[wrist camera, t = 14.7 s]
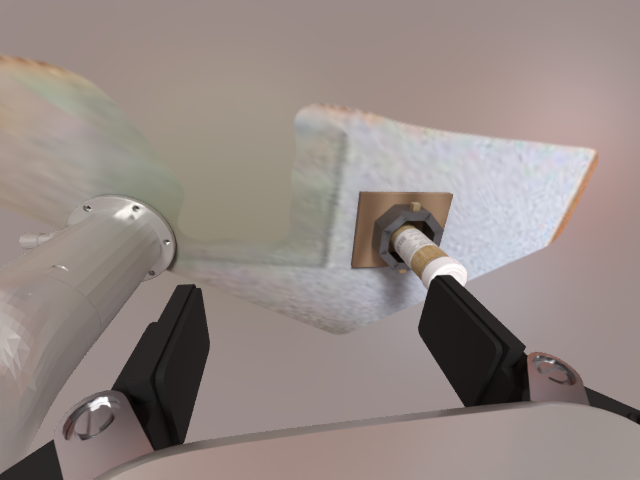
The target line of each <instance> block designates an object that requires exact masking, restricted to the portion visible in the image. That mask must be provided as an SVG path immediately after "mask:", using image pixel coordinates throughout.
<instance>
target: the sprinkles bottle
mask: <svg viewBox="0 0 640 480" xmlns="http://www.w3.org/2000/svg"><path fill="white" fill-rule="evenodd" d="M389 244H390V245H391V246H393V248H394V249H395V250H396V252H397V253H398V254H399V255H400V257H401V258H402V259H403V260H404V261H405V263H406V264H407V265H408V266H409V267H410V268H411V269H412V270H413V271H414V272H415V274H416V275H417V276H418V277H419V278H420V279H421V280H422V283H423V285H424V286H425V288H426V289H427V290H428V289H429V285H430V282H431V280H432V279H434V277H435V276H436V275H451V276H453V277H454V278H455V279H456V280H457V281H458V282H459V283H460V284H461V285H462V286H463V287H464V285H465V283H466V281H467V272H466V270H465V268H464V267H463V266H462V265H461V264H460V263H459V262H458V261H456V260H455V259H454V258H451V257H449V256H448V255H447V254H446V253H444V252H443V251H442V250H441V249H440V248H439V247H438V246H437V245H436V244H435V243H433V242H432V241H431V240H430V239H429V238H427V237H426V236H425V235H424V234H423V233H422V232H421V231H419V230H417V229H416V228H415V227H414V226H413V224H412V223H410V222H409V221H406V222H405V223H403V224H402V225H401V226H400V227H399V228H397V229H396V230H395V231H394V232H392V233H391V235H390V241H389Z"/></svg>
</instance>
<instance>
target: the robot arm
mask: <svg viewBox="0 0 640 480" xmlns="http://www.w3.org/2000/svg"><path fill="white" fill-rule="evenodd" d="M137 206H138V207H139V208H138V207H137ZM168 240H169V241H168ZM19 243H20V246H21V247H22V248H23V249H32V250H30V251H28V252H26V253H25V254H23V255H21V256H20V257H18V258H16V259H15V260H13V261H11V262H10V263H8V264H6V265H4V266H3V267H1V268H0V480H640V411H639V410H637V409H635V408H632V407H630V406H628V405H625V404H623V403H621V402H618V401H616V400H614V399H612V398H609V397H607V396H605V395H603V394H600V393H598V392H596V391H594V390H591V389H589V388H587V387H585V386H584V385H583V381H582V379H581V377H580V376H579V374H578V373H577V372H576V371H575V370H574V369H573V368H572V367H571V366H570V365H568V364H567V363H565V362H564V361H562V360H561V359H559V358H557V357H554V356H552V355H549V354H546V353H542V352H533V353H530V354H529V355H528V356H527V355H526V354H525V353H524V350H525V348H526V346H525V345H524V344H523V343H522V342H521V341H520V340H519V339H518V338H517V337H515V336H514V335H513V334H512V333H511V332H510V331H509V330H508V329H507V328H506V327H505V326H504V325H503V324H502V323H501V322H500V321H499V320H498V319H497V318H496V317H495V316H493V315H492V314H491V313H490V312H489V311H488V310H487V309H486V308H485V307H484V306H483V305H482V304H481V303H480V302H479V301H478V300H477V299H476V298H475V297H474V296H473V295H472V294H470V292H468V291H467V290H466V289H465V288H464V287H463V286H462V285H461V284H460V283H459V282H458V281H457V280H456V279H455V278H454V277H453V276H451V275H436V276H435V277H434V279H432V280H431V282H430V285H429V289H428V293H427V296H426V300H425V304H424V308H423V311H422V315H421V319H420V322H419V326H418V330H419V334H420V336H421V338H422V339H423V341H424V343H425V344H426V346H427V347H428V349H429V351H430V352H431V354H432V355H433V357H434V358H435V360H436V362H437V363H438V365H439V366H440V368H441V369H442V371H443V373H444V374H445V376H446V377H447V379H448V380H449V382H450V384H451V385H452V387H453V388H454V390H455V392H456V393H457V395H458V396H459V398H460V400H461V401H462V403H463V404H464V406H465V407H464V408H455V409H447V410H438V411H429V412H421V413H412V414H403V415H395V416H386V417H379V418H370V419H362V420H354V421H346V422H338V423H329V424H321V425H313V426H305V427H297V428H289V429H281V430H273V431H265V432H258V433H251V434H243V435H237V436H229V437H223V438H216V439H209V440H202V441H197V442H192V443H187V444H183V443H184V441H185V437H186V434H187V430H188V427H189V423H190V419H191V416H192V412H193V408H194V404H195V401H196V397H197V393H198V390H199V386H200V382H201V378H202V375H203V371H204V368H205V364H206V360H207V356H208V353H209V348H210V341H209V334H208V327H207V322H206V315H205V309H204V303H203V297H202V291H201V288H196V286H195V285H194V284H188V285H178V286H177V287H176V289H175V291H174V292H173V294H172V296H171V298H170V300H169V302H168V303H167V305H166V307H165V309H164V311H163V313H162V314H161V316H160V318H159V320H158V322H152V323H150V324H149V325H148V327H147V328H146V330H145V332H144V333H143V335H142V337H141V339H140V340H139V342H138V344H137V346H136V347H135V349H134V351H133V353H132V354H131V356H130V358H129V359H128V361H127V363H126V364H125V366H124V368H123V370H122V371H121V373H120V375H119V377H118V378H117V380H116V382H115V384H114V385H113V387H112V389H111V390H109V391H108V390H107V391H102V392H99V393H95V394H93V395H91V396H89V397H86V398H84V399H83V400H81V401H80V402H78V403H77V404H75V405H74V406H73V407H72V408H71V409H70V410H69V411H67V412H66V413H65V415H64V416H63V417H62V418H61V420H60V421H59V422H58V424H57V426H56V429H55V431H54V439H53V440H52V441H50V442H49V443H47V444H45V445H44V446H43V447H41V448H39V449H38V450H36V451H35V452H33V453H32V454H30V455H29V456H27V457H25V456H26V454H27V452H28V450H29V448H30V446H31V444H32V442H33V440H34V438H35V436H36V434H37V432H38V430H39V428H40V426H41V424H42V422H43V420H44V417H45V416H46V414H47V412H48V410H49V408H50V406H51V405H52V403H53V402H54V400H55V398H56V396H57V395H58V393H59V392H60V390H61V389H62V387H63V386H64V384H65V383H66V381H67V380H68V378H69V377H70V375H71V374H72V373H73V371H74V370H75V369H76V367H77V366H78V364H79V363H80V362H81V360H82V359H83V358H84V356H85V355H86V354H87V352H88V351H89V350H90V348H91V347H92V346H93V344H94V343H95V342H96V341H97V339H98V338H99V337H100V335H101V334H102V333H103V332H104V330H105V329H106V328H107V326H108V325H109V324H110V322H111V321H112V320H113V318H114V317H115V316H116V315H117V313H118V312H119V311H120V309H121V308H122V307H123V305H124V304H125V303H126V301H127V300H128V299H129V297H130V296H131V295H132V293H133V292H134V291H135V290H136V288H137V287H138V286H139V284H140V283H141V282H143V281H146V280H150V279H152V278H154V277H156V276H158V275H160V274H161V273H162V272H164V271H165V269H166V268H167V267H168V266H169V264H170V263H171V261H172V260H173V257H174V254H175V247H176V244H175V237H174V234H173V232H172V229H171V228H170V226H169V224H168V223H167V221H166V220H165V219H164V218H163V217H162V215H161V214H159V213H158V212H157V211H156V210H155V209H153V208H152V207H150V206H149V205H147V204H145V203H144V202H141V201H139V200H136V199H134V198H130V197H126V196H121V195H103V196H98V197H95V198H92V199H90V200H88V201H85V202H84V203H82V204H81V205H79V206H78V207H76V208H75V210H74V211H73V212H72V213H71V214H70V216H69V218H68V221H67V225H66V228H65V229H63V230H62V231H54V232H52V233H51V234H43V233H29V234H28V233H27V234H26V233H25V234H23V235H22V236H21V237H20V242H19Z"/></svg>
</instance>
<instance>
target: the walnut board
mask: <svg viewBox="0 0 640 480" xmlns="http://www.w3.org/2000/svg"><path fill="white" fill-rule="evenodd" d="M452 198H453V194H451V193H428V192H360V193H359V202H358V210H357V219H356V227H355V236H354V244H353V253H352V261H351V265H352V267H383V266H389V265H388V264H387V263H386V262H385V261H384V260H383V258H382V257H381V256H380V255H379V254H378V253H377V251H376V250H375V248H374V247H373V245H372V244H371V243H372V236H373V229H374V222H375V220H377V219H378V218H379V217H380V216H381V215H382V214H384V213H385V212H386V211H387V210H388V209H390V208H391V207H392V206H393V205H394V204H411V202H418V203H420V204H421V206H422V207H423V208H425V209H426V210H428V211H429V212H431V214H432V215H433V216H434V218H435V219H436V220H437V222H438V223H439V224H440V226H441V227H442V228H443V230H444V227H445V224H446V220H447V216H448V212H449V209H450V205H451V201H452ZM409 222H410V223H412V224H413V226H414V227H415V228H416V229H417V230H419V231H422V227H423V223H422V222H421V221H409ZM388 251H389V252H395V251H396V250H395V249H394V248H393V246H391V245H390V244H389V246H388Z"/></svg>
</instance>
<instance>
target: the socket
mask: <svg viewBox="0 0 640 480" xmlns="http://www.w3.org/2000/svg"><path fill="white" fill-rule="evenodd" d="M406 221H421V222H422V223H423V227H422V231H421V232H422V233H423V234H424V235H425V236H426V237H427V238H429V239H430V240H431V241H432V242H433V243H435V244H436V245H437V246H438V247H439V246H440V242H441V238H442V235H443V231H444V230H443V228H442V227H441V226H440V224H439V223H438V222H437V220H436V219H435V218H434V216H433V215H432V214H431V212H429V211H428V210H426V209H425V208H423V207H422V206H421V204H420V203H418V202H411V204H394V205H393V206H392V207H391V208H390V209H388V210H387V211H386V212H385V213H384V214H382V215H381V216H380V217H379V218H378V219H377V220H375V222H374V229H373V236H372V243H371V244H372V245H373V247H374V248H375V250H376V251H377V253H378V254H379V255H380V256H381V257H382V258H383V260H384V261H385V262H386V263H387V264H388V265H389V266H390V267H391V268H392V269H393V270H398V272H399V273H406V270H410V269H411V268H410V267H409V266H408V265H407V264H406V263H405V261H404V260H403V259H402V258H401V257H400V255H399V254H398V253H397V252H396V251H395V252H389V251H388V246H389V241H390V235H391V233H392V232H394V231H395V230H396V229H397V228H399V227H400V226H401V225H402V224H403V223H405V222H406Z"/></svg>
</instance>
